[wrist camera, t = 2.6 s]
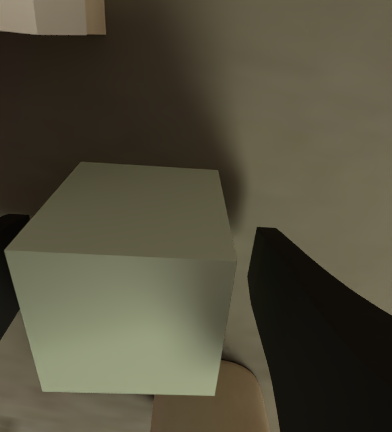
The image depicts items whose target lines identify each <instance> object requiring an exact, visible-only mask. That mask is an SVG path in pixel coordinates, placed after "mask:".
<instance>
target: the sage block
mask: <svg viewBox="0 0 392 432" xmlns="http://www.w3.org/2000/svg"><path fill="white" fill-rule="evenodd" d="M4 252H5V256H6V259H7V263H8V267H9V270H10V274H11V278H12V281H13V285H14V289H15V292H16V296H17V300H18V303H19V307H20V310H21V314H22V318H23V321H24V325H25V329H26V332H27V336H28V340H29V343H30V347H31V351H32V354H33V358H34V362H35V365H36V369H37V372H38V376H39V380H40V383H41V387H42V391H44V392H83V393H122V394H162V395H201V396H215V391H216V385H217V379H218V373H219V367H220V361H221V355H222V349H223V343H224V337H225V331H226V325H227V319H228V313H229V307H230V301H231V296H232V290H233V284H234V278H235V272H236V266H237V258H236V253H235V248H234V243H233V239H232V234H231V229H230V224H229V220H228V215H227V210H226V206H225V201H224V196H223V191H222V187H221V182H220V177H219V172H218V170H209V169H193V168H177V167H160V166H144V165H127V164H111V163H94V162H80V163H79V164H78V166H77V167H76V168H75V169H74V170H73V171H72V172H71V174H70V175H69V176H68V177H67V178H66V179H65V181H64V182H63V183H62V184H61V185H60V186H59V187H58V189H57V190H56V191H55V192H54V193H53V194H52V196H51V197H50V198H49V199H48V200H47V201H46V202H45V204H44V205H43V206H42V207H41V208H40V209H39V211H38V212H37V213H36V214H35V215H34V216H33V217H32V219H31V220H30V221H29V222H28V223H27V224H26V226H25V227H24V228H23V229H22V230H21V231H20V232H19V234H18V235H17V236H16V237H15V238H14V239H13V241H12V242H11V243H10V244H9V245H8V246H7V247H6V249H5V250H4Z"/></svg>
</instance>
